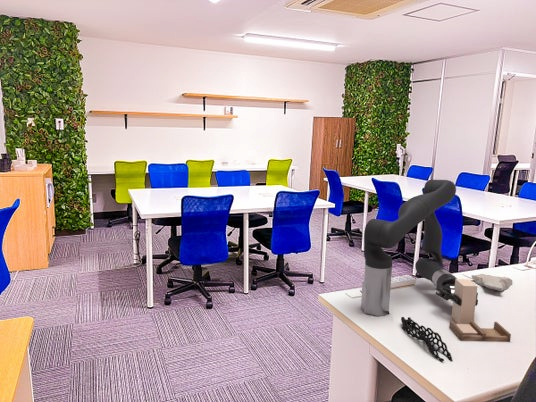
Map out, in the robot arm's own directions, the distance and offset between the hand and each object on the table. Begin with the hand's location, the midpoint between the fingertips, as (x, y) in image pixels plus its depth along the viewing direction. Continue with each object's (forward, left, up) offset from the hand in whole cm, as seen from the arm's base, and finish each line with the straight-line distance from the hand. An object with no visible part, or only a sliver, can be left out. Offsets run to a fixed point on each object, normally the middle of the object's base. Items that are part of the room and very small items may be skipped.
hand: (468, 302), depth 130 cm
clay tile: (-3, -5, -8) cm, 10 cm away
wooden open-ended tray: (+1, -6, -9) cm, 11 cm away
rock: (+28, +38, -10) cm, 48 cm away
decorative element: (-18, -11, -10) cm, 23 cm away
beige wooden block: (0, +3, -9) cm, 9 cm away
